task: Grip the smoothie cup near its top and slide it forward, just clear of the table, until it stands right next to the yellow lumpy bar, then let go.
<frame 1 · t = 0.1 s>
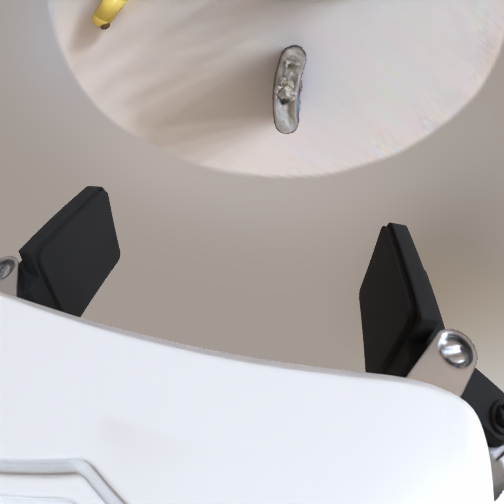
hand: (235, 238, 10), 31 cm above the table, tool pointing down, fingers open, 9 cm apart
flask: (291, 80, 34), on the table
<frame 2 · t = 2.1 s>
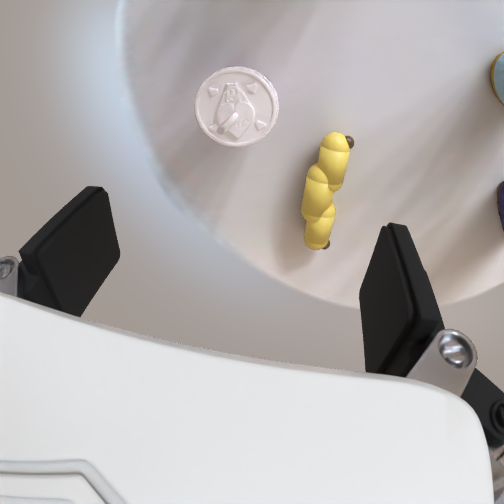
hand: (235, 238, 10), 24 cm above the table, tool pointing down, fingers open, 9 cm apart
smoothie: (255, 90, 29), on the table
yellow lumpy bar: (318, 187, 35), on the table
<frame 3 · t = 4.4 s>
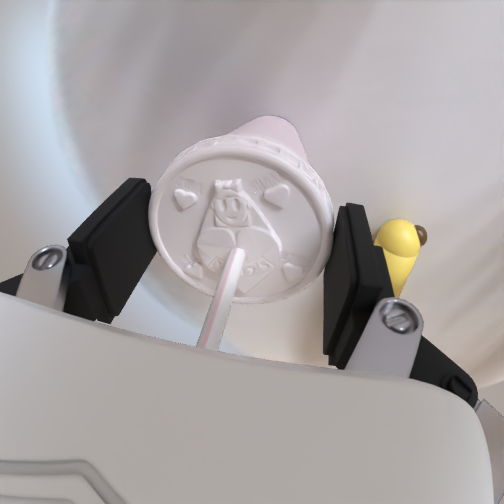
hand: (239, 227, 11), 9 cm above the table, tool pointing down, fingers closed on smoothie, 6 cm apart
smoothie: (269, 144, 18), on the table, touching gripper
yellow lumpy bar: (361, 288, 23), on the table
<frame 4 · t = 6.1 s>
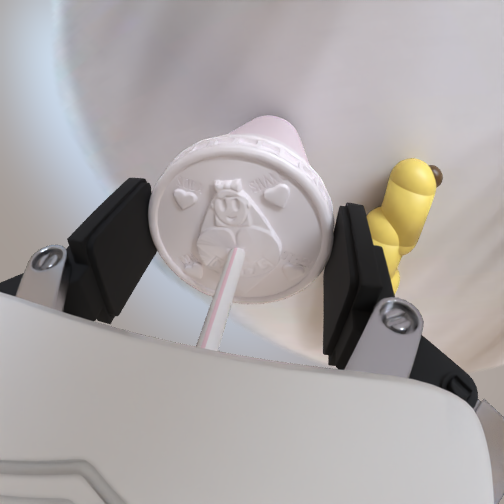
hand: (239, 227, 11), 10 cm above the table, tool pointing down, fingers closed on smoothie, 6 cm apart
smoothie: (269, 144, 18), point 1 cm above the table, touching gripper
yellow lumpy bar: (374, 241, 22), on the table
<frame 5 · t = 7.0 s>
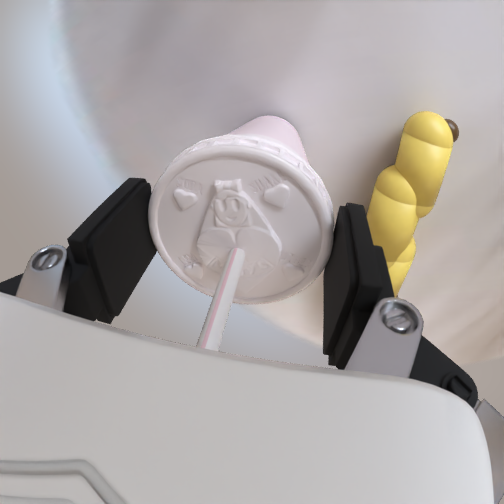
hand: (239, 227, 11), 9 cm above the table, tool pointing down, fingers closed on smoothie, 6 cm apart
smoothie: (269, 144, 18), on the table, touching gripper
yellow lumpy bar: (386, 207, 19), on the table
when the fingers open (9 cm above the table, at t = 7.7 s): smoothie stays where it is, on the table.
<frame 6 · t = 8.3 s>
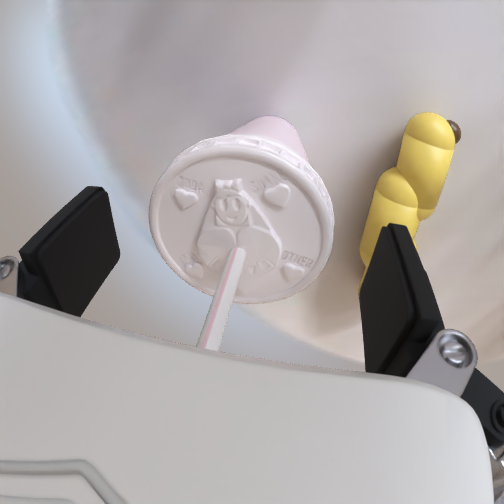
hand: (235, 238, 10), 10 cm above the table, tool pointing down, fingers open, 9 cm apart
smoothie: (270, 144, 18), on the table
yellow lumpy bar: (387, 209, 19), on the table
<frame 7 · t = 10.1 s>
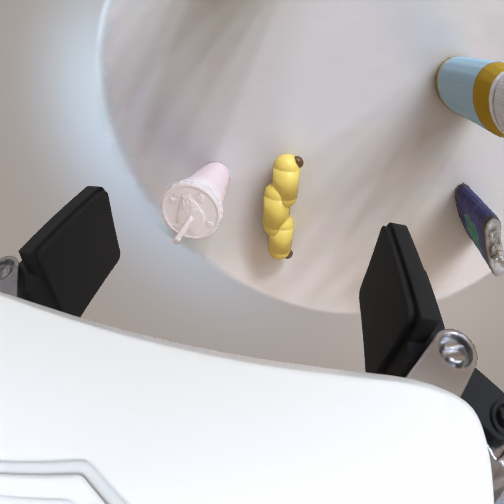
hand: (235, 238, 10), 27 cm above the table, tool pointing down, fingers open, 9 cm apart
flask: (467, 211, 35), on the table
smoothie: (215, 175, 39), on the table
yellow lumpy bar: (277, 203, 40), on the table
bottle: (458, 84, 26), on the table
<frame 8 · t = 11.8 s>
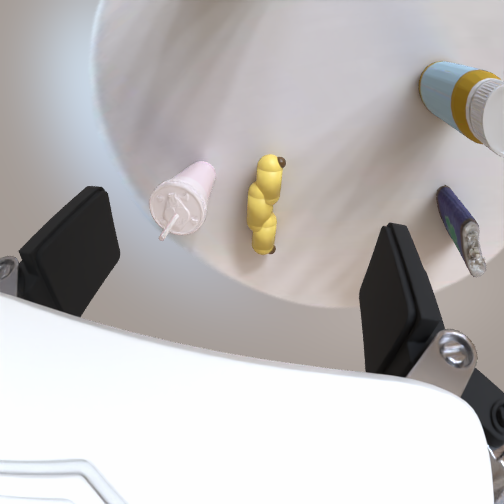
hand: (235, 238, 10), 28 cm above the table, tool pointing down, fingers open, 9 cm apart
flask: (449, 212, 37), on the table
smoothie: (202, 173, 40), on the table
yellow lumpy bar: (261, 201, 41), on the table
bottle: (442, 88, 28), on the table
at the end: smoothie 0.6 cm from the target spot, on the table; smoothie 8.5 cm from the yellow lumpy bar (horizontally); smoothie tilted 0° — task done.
